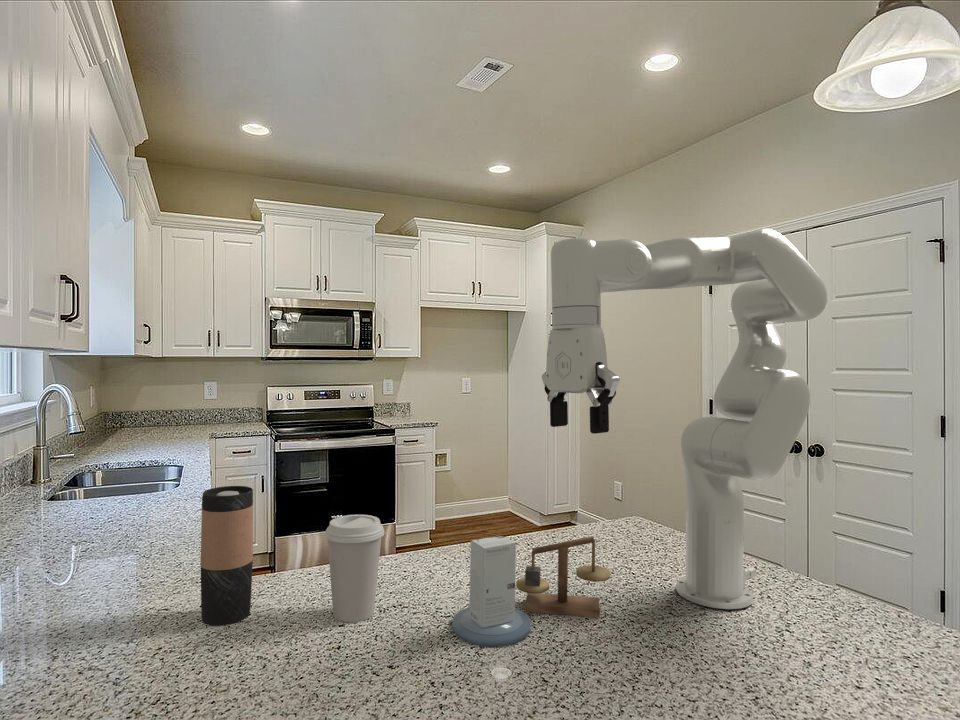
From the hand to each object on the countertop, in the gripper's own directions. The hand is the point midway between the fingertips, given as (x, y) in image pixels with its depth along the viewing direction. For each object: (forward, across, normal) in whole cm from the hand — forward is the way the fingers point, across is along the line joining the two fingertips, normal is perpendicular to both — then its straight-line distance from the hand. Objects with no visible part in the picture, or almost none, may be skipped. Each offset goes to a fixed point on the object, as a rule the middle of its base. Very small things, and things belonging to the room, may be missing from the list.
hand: (578, 429), depth 89 cm
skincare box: (+29, -6, -13) cm, 33 cm away
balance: (+31, -6, +1) cm, 31 cm away
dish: (+30, -6, -13) cm, 34 cm away
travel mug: (+29, -30, -48) cm, 64 cm away
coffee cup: (+30, -21, -30) cm, 47 cm away
